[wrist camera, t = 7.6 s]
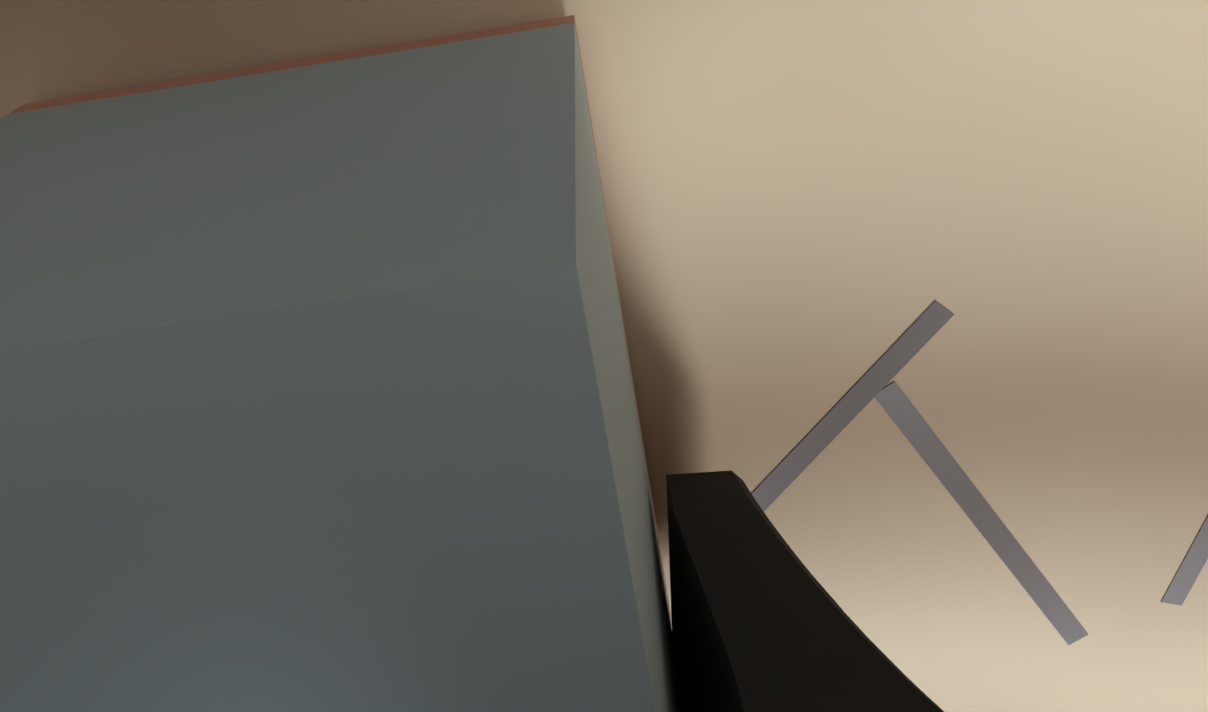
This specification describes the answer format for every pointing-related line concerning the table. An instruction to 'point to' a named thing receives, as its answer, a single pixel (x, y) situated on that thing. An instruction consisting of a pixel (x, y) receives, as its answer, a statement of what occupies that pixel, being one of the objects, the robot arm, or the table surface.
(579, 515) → the block
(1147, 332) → the birch board
